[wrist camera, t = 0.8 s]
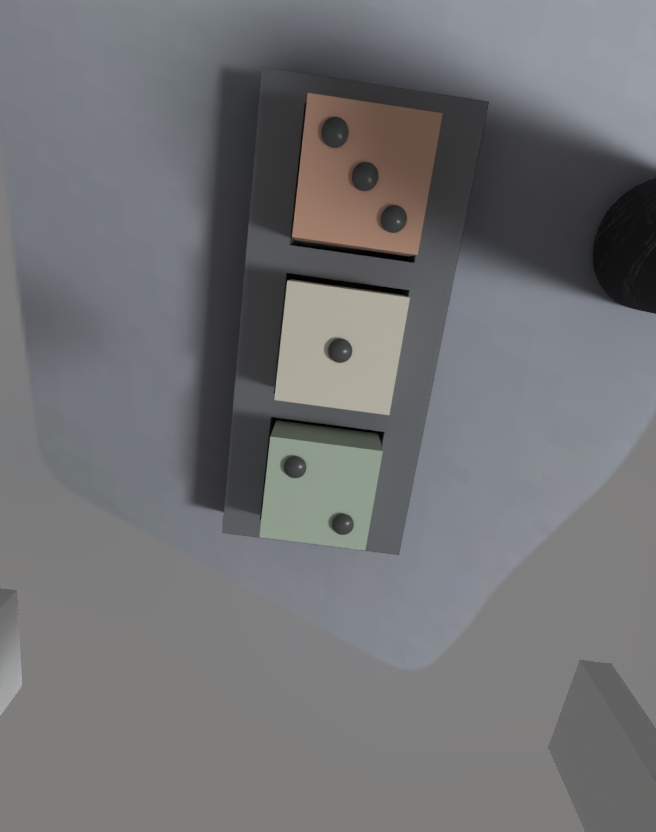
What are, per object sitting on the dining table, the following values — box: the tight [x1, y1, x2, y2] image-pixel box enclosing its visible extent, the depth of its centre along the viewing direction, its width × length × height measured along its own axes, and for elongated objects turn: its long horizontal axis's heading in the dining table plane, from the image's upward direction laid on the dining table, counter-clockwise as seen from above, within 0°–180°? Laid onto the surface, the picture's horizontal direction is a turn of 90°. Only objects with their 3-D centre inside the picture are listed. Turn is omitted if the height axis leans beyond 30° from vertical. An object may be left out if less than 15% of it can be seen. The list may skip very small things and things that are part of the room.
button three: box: [292, 93, 443, 256], centre depth 24 cm, size 6×6×3 cm
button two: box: [259, 420, 383, 550], centre depth 29 cm, size 6×6×3 cm
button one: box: [274, 279, 410, 415], centre depth 26 cm, size 6×6×3 cm
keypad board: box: [222, 67, 489, 555], centre depth 29 cm, size 25×11×2 cm, turn 172°
